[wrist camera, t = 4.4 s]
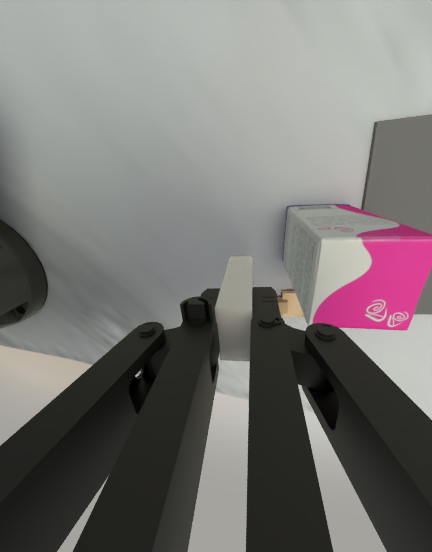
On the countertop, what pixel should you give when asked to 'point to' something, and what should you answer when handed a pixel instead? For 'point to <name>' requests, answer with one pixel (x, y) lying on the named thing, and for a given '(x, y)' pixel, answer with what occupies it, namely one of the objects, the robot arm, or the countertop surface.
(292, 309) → the turner
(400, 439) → the robot arm
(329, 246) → the supplement box
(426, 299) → the mat
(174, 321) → the countertop surface
